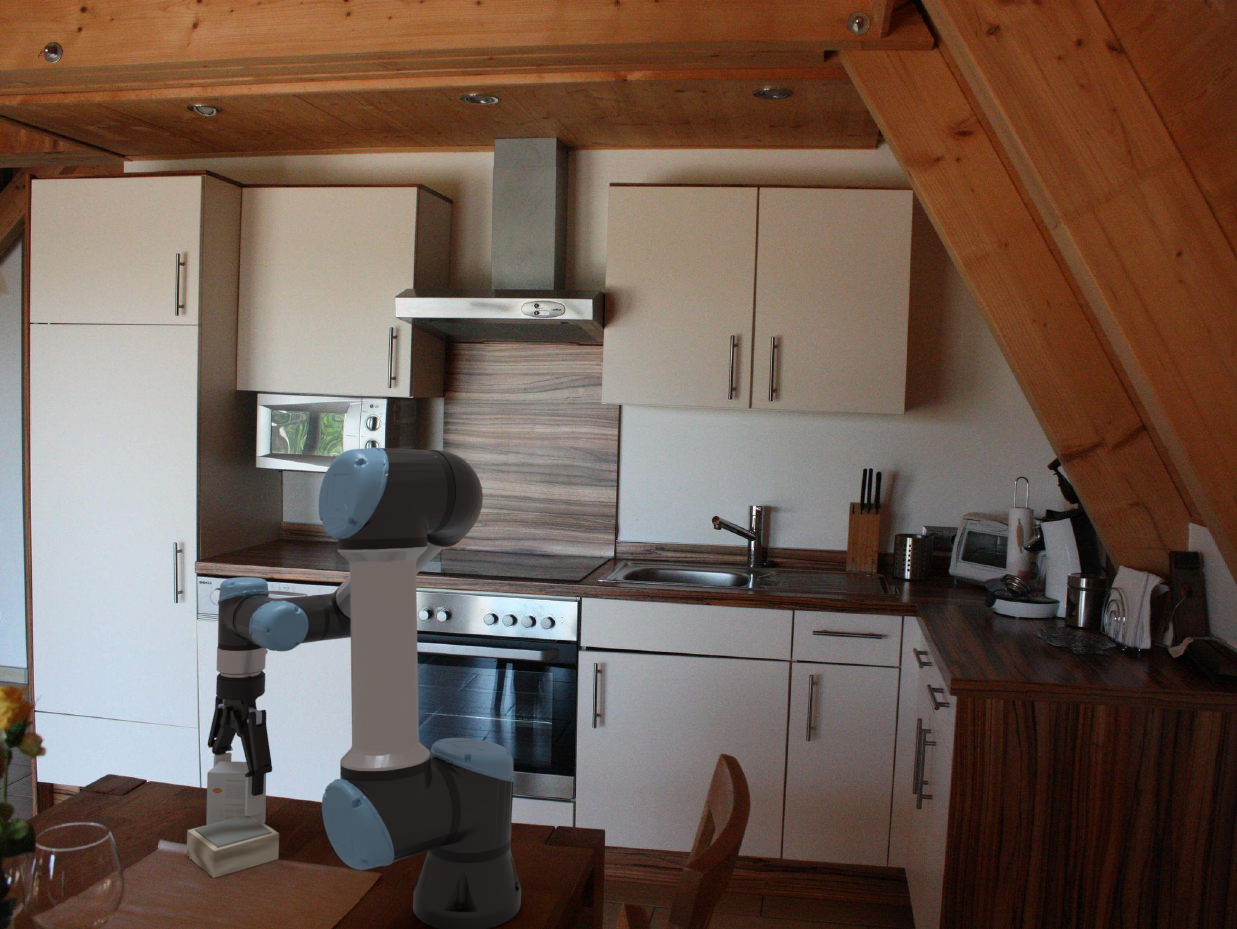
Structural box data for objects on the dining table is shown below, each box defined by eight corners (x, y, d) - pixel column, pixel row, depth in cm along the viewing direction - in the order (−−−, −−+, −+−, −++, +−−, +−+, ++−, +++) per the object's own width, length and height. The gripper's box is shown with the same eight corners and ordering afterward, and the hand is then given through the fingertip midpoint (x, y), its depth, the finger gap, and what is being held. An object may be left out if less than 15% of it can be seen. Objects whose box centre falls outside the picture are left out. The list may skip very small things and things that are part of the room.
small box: (265, 823, 163) (268, 761, 163) (254, 836, 157) (256, 772, 157) (217, 821, 163) (219, 760, 162) (204, 835, 157) (206, 771, 157)
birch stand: (278, 859, 149) (279, 831, 149) (213, 877, 142) (214, 849, 142) (249, 838, 156) (250, 812, 156) (186, 855, 149) (187, 828, 149)
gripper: (297, 683, 154) (293, 818, 154) (232, 655, 170) (228, 778, 171) (251, 690, 148) (247, 830, 149) (189, 661, 165) (185, 788, 165)
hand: (237, 802), depth 160 cm, fingers open, 11 cm apart
